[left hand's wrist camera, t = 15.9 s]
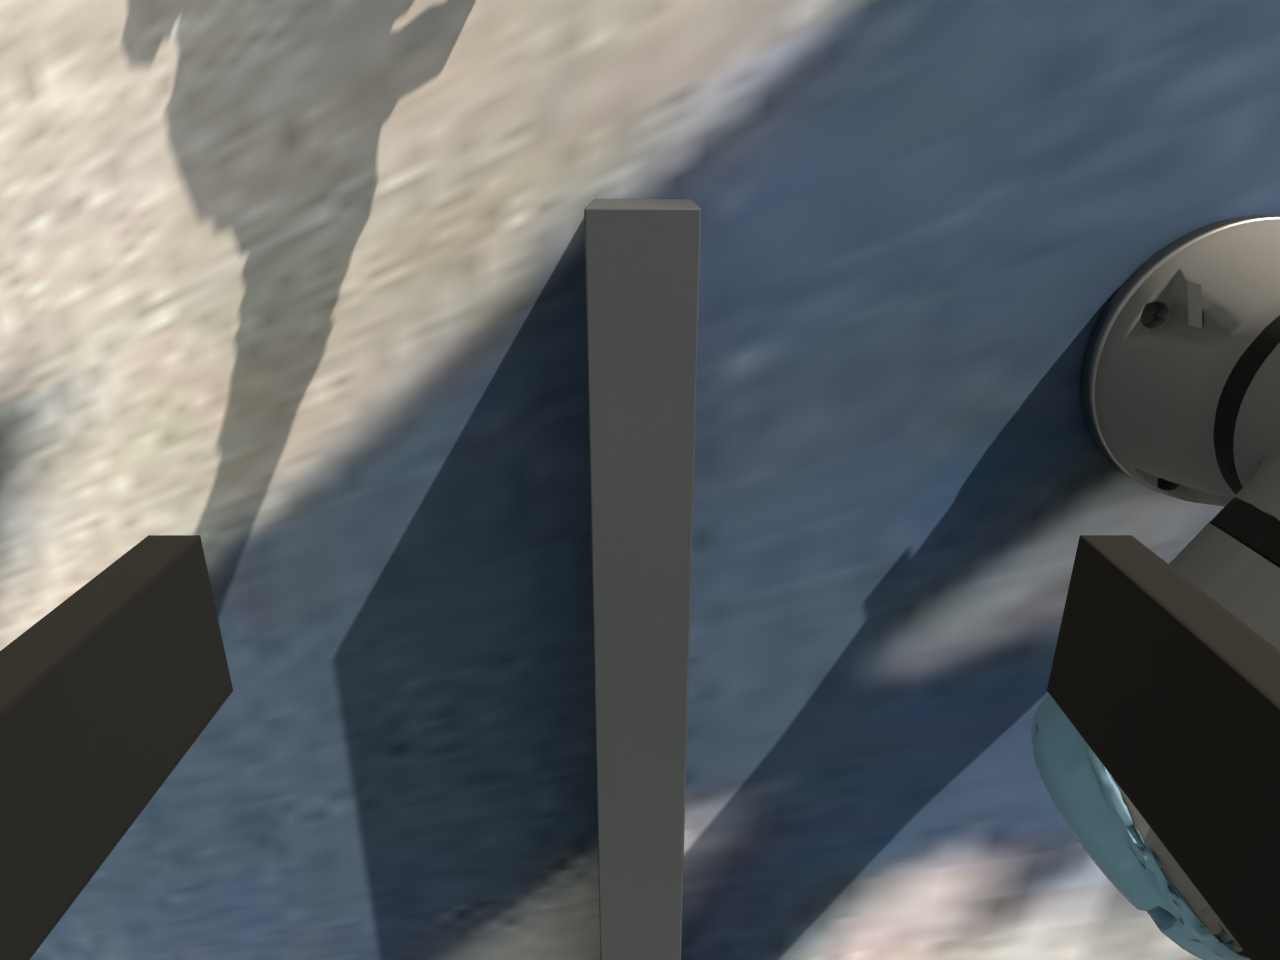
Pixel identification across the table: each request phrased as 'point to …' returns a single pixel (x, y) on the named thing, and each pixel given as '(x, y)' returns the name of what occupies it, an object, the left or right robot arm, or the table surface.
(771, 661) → the table surface
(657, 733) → the beam
